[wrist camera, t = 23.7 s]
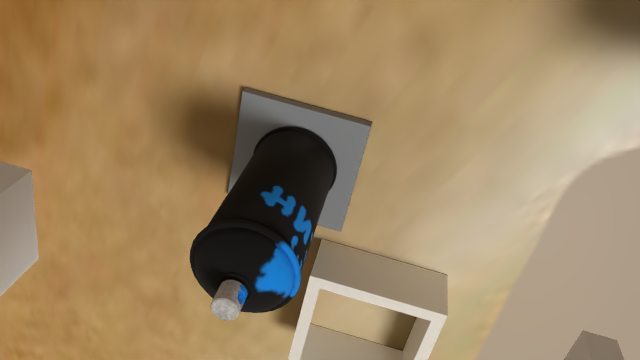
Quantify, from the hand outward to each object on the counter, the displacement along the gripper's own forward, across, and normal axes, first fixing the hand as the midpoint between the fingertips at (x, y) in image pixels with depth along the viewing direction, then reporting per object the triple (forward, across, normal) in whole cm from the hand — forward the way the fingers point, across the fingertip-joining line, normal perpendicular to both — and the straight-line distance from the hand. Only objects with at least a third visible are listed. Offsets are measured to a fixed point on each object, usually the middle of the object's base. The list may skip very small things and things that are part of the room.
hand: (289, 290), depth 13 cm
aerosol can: (+36, -5, -18) cm, 40 cm away
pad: (+37, -5, -18) cm, 41 cm away
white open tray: (+37, +6, -33) cm, 50 cm away
